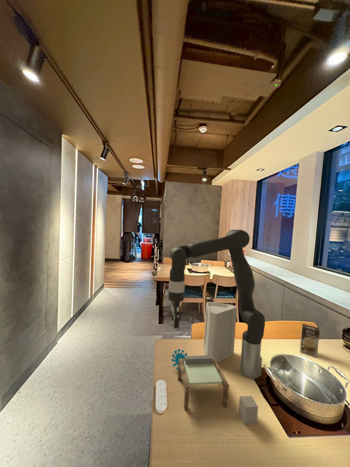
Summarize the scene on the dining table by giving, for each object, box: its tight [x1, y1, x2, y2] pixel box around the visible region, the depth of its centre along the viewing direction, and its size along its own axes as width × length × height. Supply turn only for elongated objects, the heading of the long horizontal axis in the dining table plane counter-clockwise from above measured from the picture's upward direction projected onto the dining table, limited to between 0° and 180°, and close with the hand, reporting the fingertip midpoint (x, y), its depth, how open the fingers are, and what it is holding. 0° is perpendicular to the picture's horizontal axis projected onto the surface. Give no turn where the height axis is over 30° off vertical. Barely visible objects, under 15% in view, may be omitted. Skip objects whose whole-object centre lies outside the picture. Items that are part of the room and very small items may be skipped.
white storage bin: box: [203, 301, 238, 363], centre depth 124 cm, size 19×15×28 cm
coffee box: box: [299, 323, 320, 358], centre depth 130 cm, size 9×6×16 cm
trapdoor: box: [184, 354, 222, 386], centre depth 94 cm, size 14×14×4 cm
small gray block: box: [238, 395, 259, 426], centre depth 82 cm, size 5×5×7 cm
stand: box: [177, 358, 230, 411], centre depth 94 cm, size 18×18×10 cm
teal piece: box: [171, 348, 188, 371], centre depth 111 cm, size 11×6×10 cm
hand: (175, 323), depth 99 cm, fingers open, 8 cm apart
